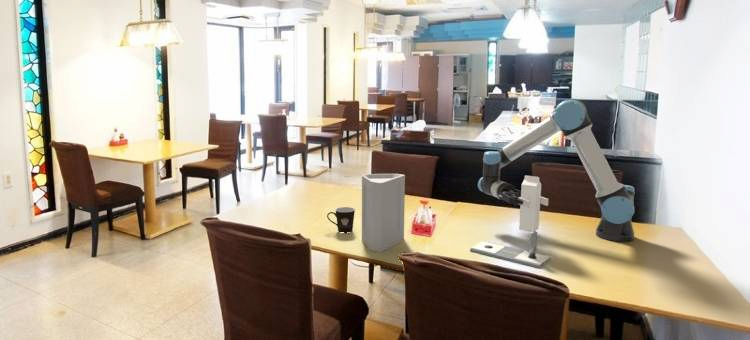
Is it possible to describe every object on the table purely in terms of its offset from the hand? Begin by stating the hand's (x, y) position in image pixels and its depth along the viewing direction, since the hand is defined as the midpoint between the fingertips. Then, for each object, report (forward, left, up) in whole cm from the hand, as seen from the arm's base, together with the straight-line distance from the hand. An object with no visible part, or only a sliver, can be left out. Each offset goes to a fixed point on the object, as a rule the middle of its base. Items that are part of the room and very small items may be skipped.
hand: (538, 203), depth 194 cm
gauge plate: (+6, +11, -20) cm, 23 cm away
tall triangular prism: (+55, +32, -20) cm, 67 cm away
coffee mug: (+77, +30, -20) cm, 85 cm away
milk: (+4, -2, -12) cm, 13 cm away
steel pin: (-3, +11, -18) cm, 22 cm away
